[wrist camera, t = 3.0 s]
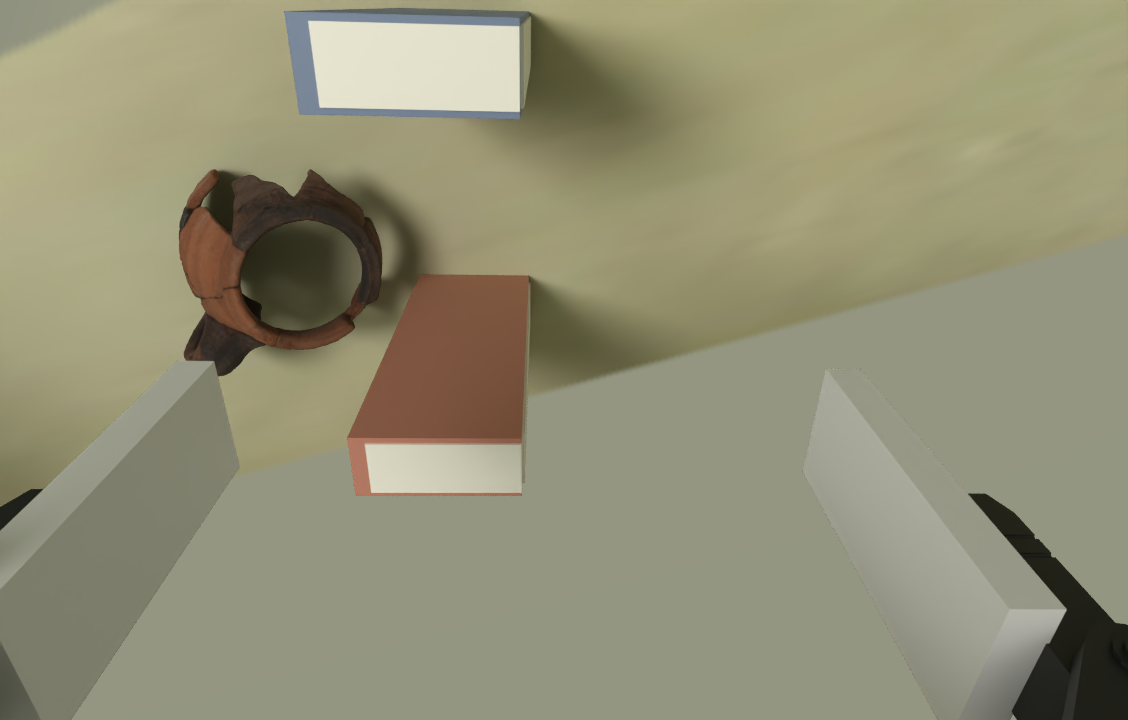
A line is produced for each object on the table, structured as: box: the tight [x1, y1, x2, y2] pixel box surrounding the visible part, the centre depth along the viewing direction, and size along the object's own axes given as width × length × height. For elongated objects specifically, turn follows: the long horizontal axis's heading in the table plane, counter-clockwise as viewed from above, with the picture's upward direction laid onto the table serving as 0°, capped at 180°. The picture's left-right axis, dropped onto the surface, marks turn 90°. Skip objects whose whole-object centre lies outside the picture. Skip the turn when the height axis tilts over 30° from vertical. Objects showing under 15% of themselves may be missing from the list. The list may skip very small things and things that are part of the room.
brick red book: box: [347, 275, 530, 496], centre depth 31 cm, size 6×2×16 cm, turn 89°
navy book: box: [284, 8, 531, 119], centre depth 25 cm, size 6×2×16 cm, turn 89°
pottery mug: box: [179, 169, 382, 376], centre depth 35 cm, size 12×9×8 cm
